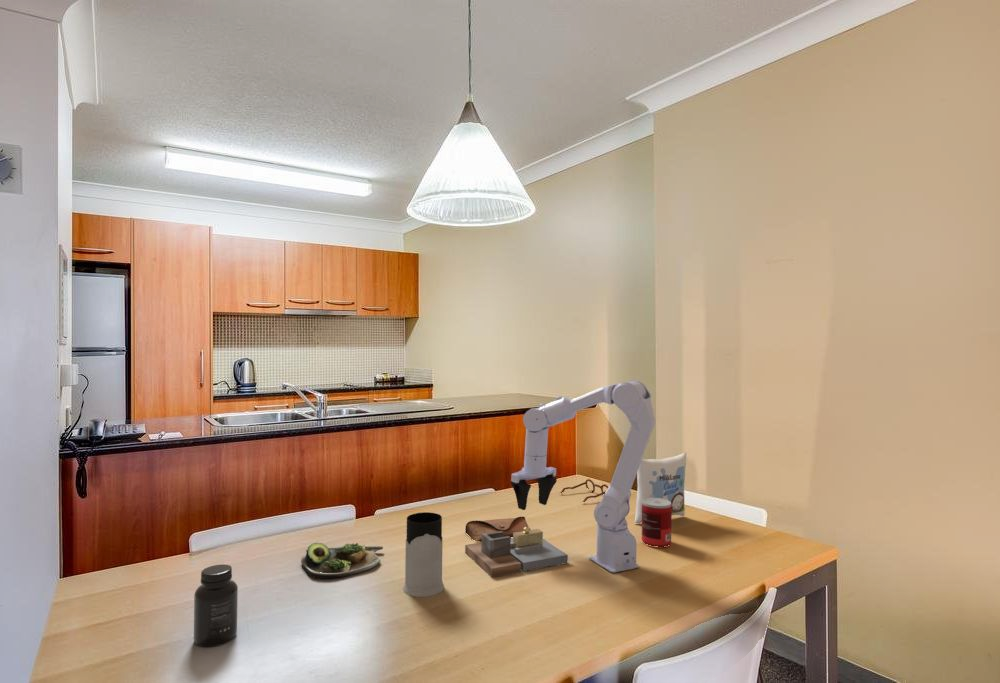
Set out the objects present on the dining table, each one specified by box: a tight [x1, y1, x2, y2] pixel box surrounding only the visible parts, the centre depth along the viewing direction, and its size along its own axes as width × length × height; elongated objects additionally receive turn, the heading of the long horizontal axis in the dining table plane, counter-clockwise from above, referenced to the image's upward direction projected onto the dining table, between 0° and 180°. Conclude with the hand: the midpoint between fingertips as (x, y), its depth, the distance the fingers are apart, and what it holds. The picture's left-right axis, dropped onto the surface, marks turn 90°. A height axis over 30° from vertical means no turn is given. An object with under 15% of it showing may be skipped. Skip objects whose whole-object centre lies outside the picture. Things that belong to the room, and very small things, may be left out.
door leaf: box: [510, 538, 569, 572], centre depth 137 cm, size 16×12×3 cm
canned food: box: [641, 498, 673, 547], centre depth 147 cm, size 8×8×11 cm
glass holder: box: [402, 511, 445, 598], centre depth 121 cm, size 9×14×15 cm, turn 15°
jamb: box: [464, 531, 522, 578], centre depth 133 cm, size 16×7×6 cm, turn 25°
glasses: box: [560, 478, 609, 503], centre depth 191 cm, size 13×13×5 cm
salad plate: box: [300, 542, 384, 580], centre depth 132 cm, size 19×18×5 cm
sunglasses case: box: [465, 516, 531, 541], centre depth 153 cm, size 18×7×7 cm, turn 109°
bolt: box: [513, 526, 544, 548], centre depth 137 cm, size 2×7×5 cm, turn 115°
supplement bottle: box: [193, 563, 239, 648], centre depth 98 cm, size 7×7×12 cm
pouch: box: [634, 451, 687, 524], centre depth 165 cm, size 8×19×20 cm, turn 112°
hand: (532, 506), depth 143 cm, fingers open, 7 cm apart
